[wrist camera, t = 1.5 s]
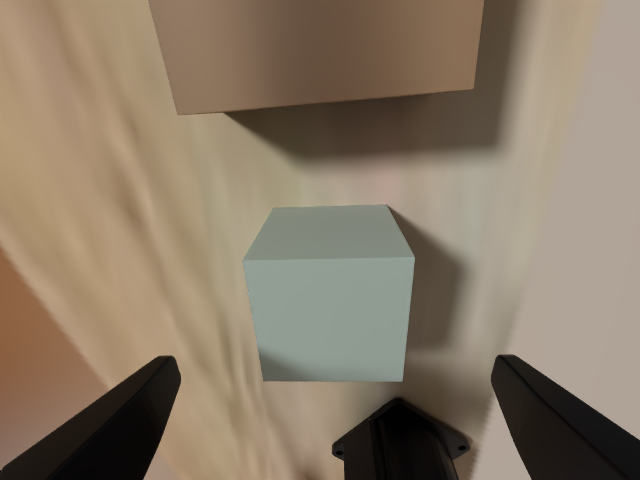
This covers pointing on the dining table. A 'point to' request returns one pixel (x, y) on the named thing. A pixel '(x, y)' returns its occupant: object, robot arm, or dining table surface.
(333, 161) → the dining table surface
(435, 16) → the tan square slab
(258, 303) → the sage cube
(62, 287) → the dining table surface
